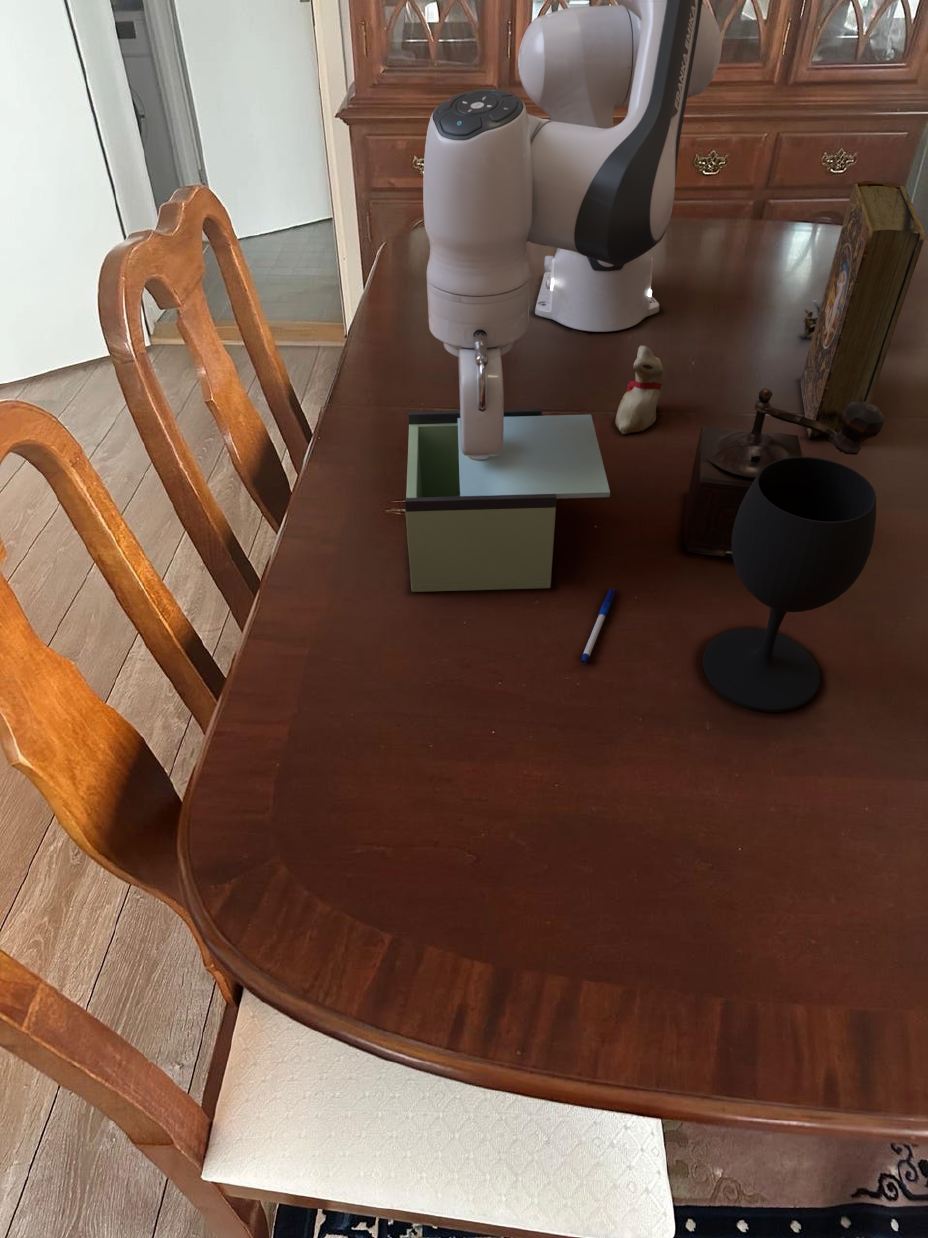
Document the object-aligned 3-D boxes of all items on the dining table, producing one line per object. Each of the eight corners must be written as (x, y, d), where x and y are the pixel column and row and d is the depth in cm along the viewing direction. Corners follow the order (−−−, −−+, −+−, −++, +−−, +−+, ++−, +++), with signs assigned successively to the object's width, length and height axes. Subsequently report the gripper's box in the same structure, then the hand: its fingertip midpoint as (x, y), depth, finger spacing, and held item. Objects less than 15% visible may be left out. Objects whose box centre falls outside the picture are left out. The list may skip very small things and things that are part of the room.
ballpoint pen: (606, 591, 89) (607, 584, 88) (615, 593, 89) (616, 586, 88) (580, 663, 82) (581, 656, 81) (589, 666, 82) (590, 658, 81)
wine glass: (753, 729, 76) (812, 546, 63) (678, 653, 83) (716, 472, 69) (845, 686, 80) (919, 503, 66) (765, 616, 86) (818, 437, 73)
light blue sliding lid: (457, 422, 94) (456, 391, 91) (590, 419, 94) (593, 388, 91) (460, 501, 84) (459, 469, 81) (609, 497, 84) (613, 464, 81)
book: (799, 377, 120) (852, 179, 103) (842, 380, 119) (902, 181, 102) (808, 442, 109) (869, 231, 91) (855, 446, 108) (926, 234, 91)
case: (414, 498, 101) (408, 411, 94) (537, 495, 102) (541, 407, 94) (411, 592, 90) (404, 501, 82) (550, 588, 90) (556, 497, 82)
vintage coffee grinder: (682, 556, 93) (711, 402, 81) (685, 495, 101) (713, 346, 89) (837, 574, 91) (892, 418, 78) (828, 510, 99) (877, 359, 86)
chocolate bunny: (675, 419, 113) (687, 345, 106) (626, 437, 110) (635, 362, 103) (647, 400, 116) (657, 327, 110) (598, 417, 114) (606, 343, 107)
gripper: (522, 363, 70) (517, 506, 80) (508, 261, 85) (505, 392, 95) (442, 365, 70) (447, 508, 80) (442, 263, 85) (446, 393, 95)
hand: (479, 444), depth 87 cm, fingers closed on light blue sliding lid, 2 cm apart
